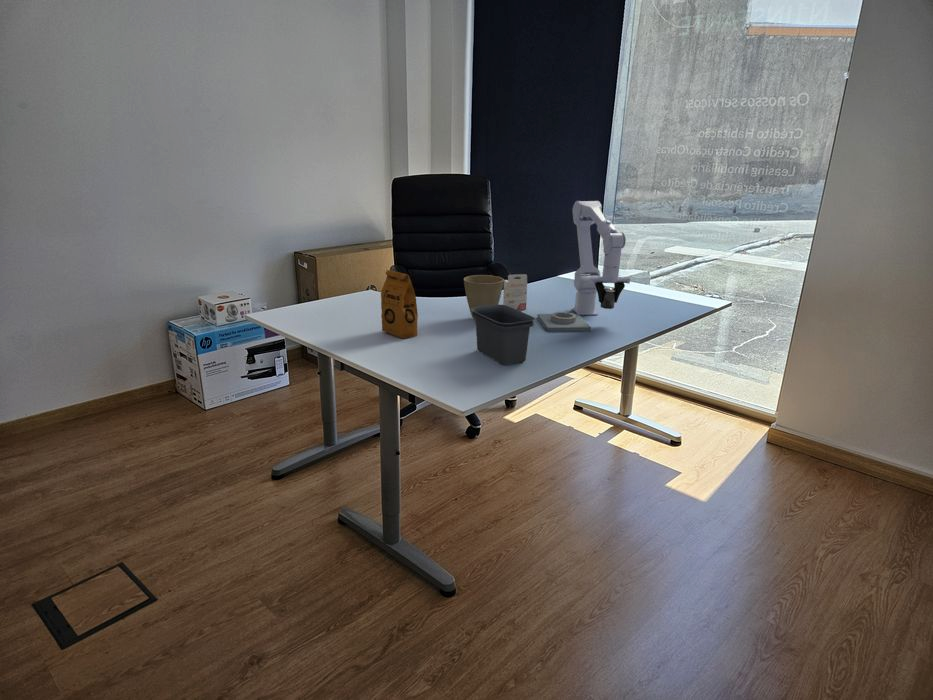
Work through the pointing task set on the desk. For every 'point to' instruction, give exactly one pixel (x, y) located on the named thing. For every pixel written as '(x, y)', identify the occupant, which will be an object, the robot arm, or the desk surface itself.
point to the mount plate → (563, 322)
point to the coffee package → (399, 306)
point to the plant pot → (483, 290)
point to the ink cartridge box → (515, 292)
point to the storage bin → (502, 332)
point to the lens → (608, 298)
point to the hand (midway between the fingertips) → (607, 302)
